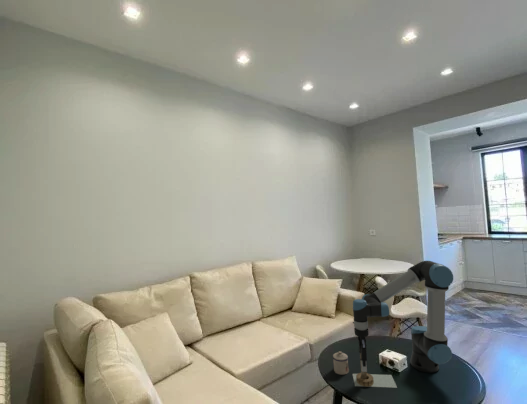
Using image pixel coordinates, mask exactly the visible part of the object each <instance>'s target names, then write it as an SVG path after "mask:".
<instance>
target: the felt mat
mask: <svg viewBox="0 0 527 404" xmlns="http://www.w3.org/2000/svg"><path fill="white" fill-rule="evenodd" d="M357 374H358V373H352V378H353V383H354V387H363V386H362V385H359V384H358V383H357V380H356V375H357ZM369 374H370V375H372V376H373V380H374V384H373V385H372V386H368V388H369V387H372V388H393V389H394V388H395V389H396V388H398V387H397V384H396V381H395V379H394V378H393V376H392V374H371V373H369ZM364 387H365V388H366V387H367V386H364Z"/></svg>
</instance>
